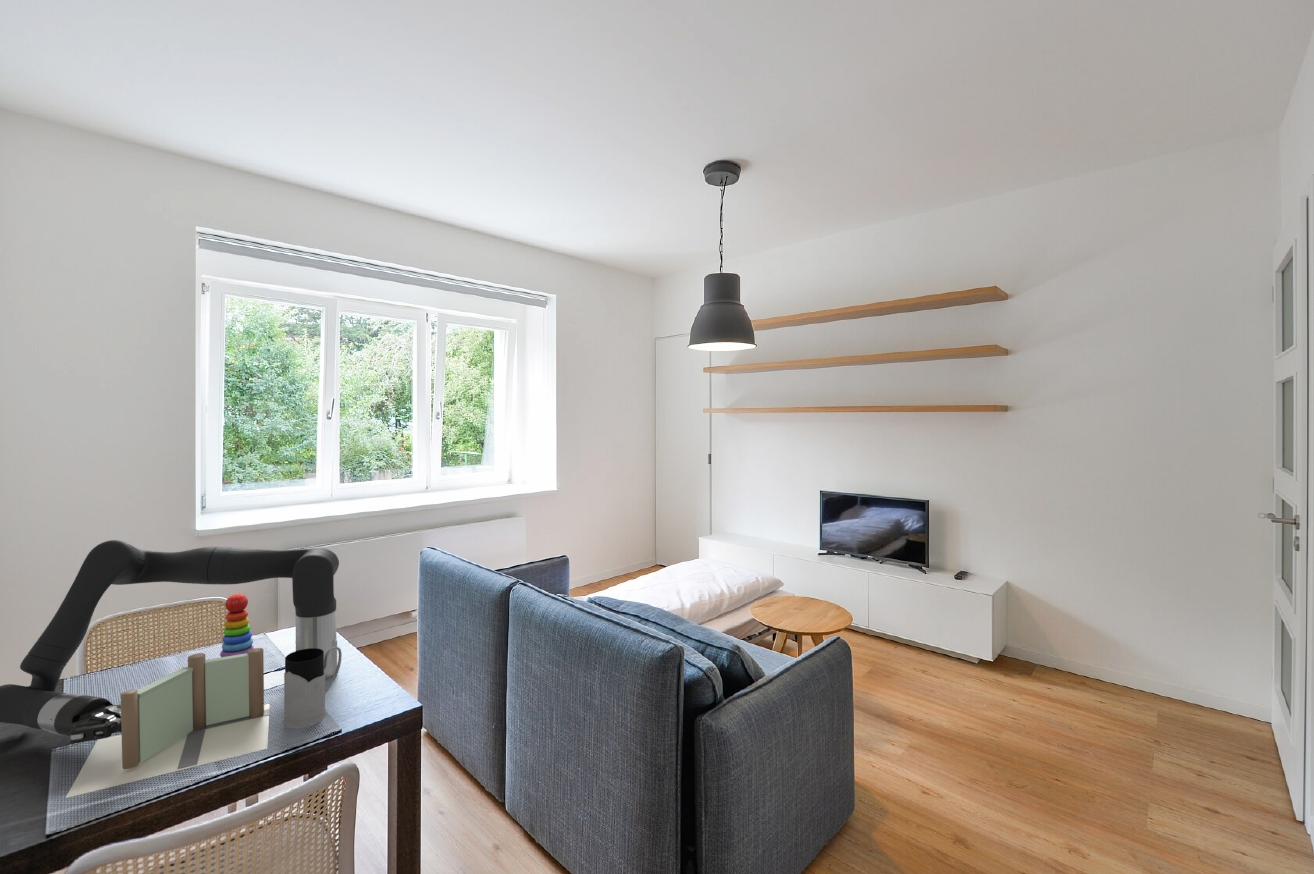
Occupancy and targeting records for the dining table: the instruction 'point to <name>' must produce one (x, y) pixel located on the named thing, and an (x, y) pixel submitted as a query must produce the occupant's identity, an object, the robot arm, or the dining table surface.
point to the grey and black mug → (306, 686)
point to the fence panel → (156, 716)
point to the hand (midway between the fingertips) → (142, 726)
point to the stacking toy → (236, 627)
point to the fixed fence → (227, 687)
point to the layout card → (173, 753)
